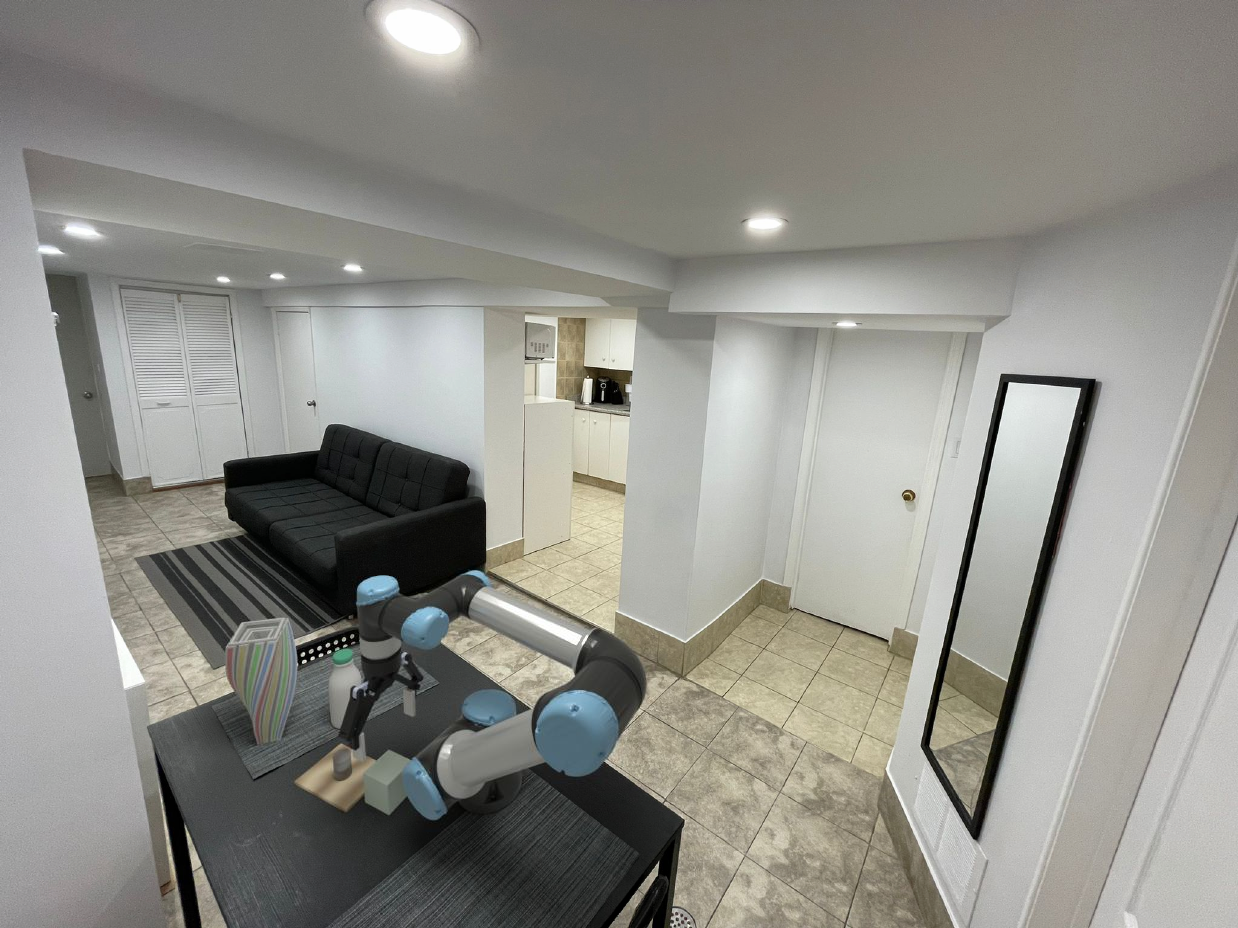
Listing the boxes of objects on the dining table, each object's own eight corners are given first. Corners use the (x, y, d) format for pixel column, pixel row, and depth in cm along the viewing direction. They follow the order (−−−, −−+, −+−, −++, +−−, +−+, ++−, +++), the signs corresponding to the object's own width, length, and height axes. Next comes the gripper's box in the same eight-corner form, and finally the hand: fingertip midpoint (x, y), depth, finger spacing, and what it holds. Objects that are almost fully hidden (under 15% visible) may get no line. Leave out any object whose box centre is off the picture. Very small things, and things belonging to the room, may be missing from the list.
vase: (297, 748, 121) (285, 642, 114) (229, 762, 116) (212, 652, 109) (308, 709, 133) (297, 611, 126) (247, 720, 128) (233, 618, 121)
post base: (390, 769, 118) (389, 748, 116) (346, 812, 107) (344, 789, 105) (341, 745, 123) (339, 724, 121) (294, 784, 112) (291, 761, 111)
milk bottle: (350, 732, 127) (345, 665, 122) (324, 726, 128) (317, 659, 123) (370, 711, 134) (366, 647, 129) (345, 705, 136) (340, 641, 131)
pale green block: (413, 789, 113) (412, 760, 111) (389, 814, 107) (387, 785, 105) (390, 777, 116) (388, 749, 114) (365, 802, 109) (362, 772, 107)
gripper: (412, 615, 114) (415, 693, 120) (311, 680, 92) (320, 772, 97) (438, 623, 112) (440, 703, 117) (341, 693, 89) (348, 787, 94)
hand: (386, 734), depth 107 cm, fingers open, 13 cm apart
